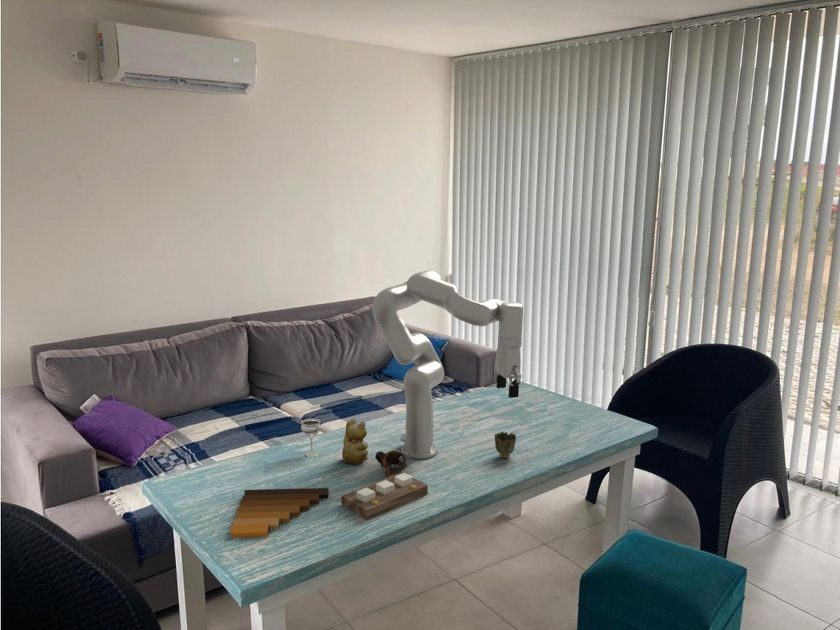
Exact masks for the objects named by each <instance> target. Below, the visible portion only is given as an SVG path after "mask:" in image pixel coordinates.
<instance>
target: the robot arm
mask: <svg viewBox="0 0 840 630" xmlns="http://www.w3.org/2000/svg"><path fill="white" fill-rule="evenodd" d="M421 301H423V302H426V303H429V304H431V305H433V306H434V305H435V306H437V307H438V308H442V309H444V310H445V311H446V312H448V313H449V315H451V316H452V317H453V318H456V320H459V321H461V322H464V323H466V324H469V325H472V326H476V327H486V326H489V325H490V324H493V323H496V322H497V323H498V326H497V327H498V329H497V330H498V331H497V333H498V334H497V349H496V352H495V353H496V354H495V363H494V364H495V365H494V371H495V372H496V385H495V386H496V388H497V389H504V388H505V389H506V387H507V380H508V382H509V385H508V398H510V399H513V398H519V391H520V385H521V379H522V373H521V363H522V361H521V347H522V341H523V322H524V321H523V320H524V306H523V304H521V303H519V302H513V301H503V300H500V299H497V298H487V299H485V300H482V301H480V302H477V301H474V300H471V299H469V298H468V297H467V298H466V297H464V296H463V295H461V294H460V293H459V292H458V287H457V286H456V285H455V284H454V283H450V282H448V281H445V280H442V277H441V276H440V275H439V274H438V273H437V272H435V271H434V270H424V271H420V272H417V273H414V274H412V275H411V276H410V277H409V278H408V279H407V281H405V282H403V283H400V284H397V285H394V286H390V287H386V288H384V289H383V290H381V291H379V292H378V293H377V295H376V296H375V297H374V299H373V302H372V305H371V306H372V307H371V309H372V310H371V311H372V312H371V313H372V316H373V318H374V321H375V322H376V324H377V325H378V328H379V329H380V330H381V333H382V334H383V336H384V339H385V341H386V343H387V345H388V346H389V348H390V351H391V352H392V354H393V357H394V359H395V360H396V361H397V362H398V364H401V365H403V366H404V365H405V366H407V365H408V366H409V365H411V364H413V363H414V364H415V365H414V366H412V367H410V368H409V369H408V370H407V372H406V373H405V375H404V377H403V389H404V393H405V394H404V395H405V433H404V434H403V435H402V436H401V437H400V438H399V441H400V442H403V446H402V447H401V453H403V454H404V455H405V457H406V458H409V459H414V460H425V459H430V458H432V457H435V456H436V455H437V454H438V448H437V447H436V446H435V445H434V400H433V396H432V389H433V388H434V387H437V386H438V385H439V384H440V383H441V382H442V381H443V380H444V378H445V370H444V366H443V364H442V362H441V360H440V358H439V355H438V354H437V352H436V349H435V348H434V346H433V344H432V342H431V340H430V339H429V338H428V337H427V336H426V335H425V334H423V333H421V332H412V333H411V332H410V330H409V328H408V326H407V324H406V323H405V321H404V319H402V318H401V317H400V316H399V315H398V311H401V310H403V309H407V308H410V307H411V306H413V305H416V304H417V303H419V302H421Z"/></svg>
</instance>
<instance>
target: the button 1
mask: <svg viewBox="0 0 840 630" xmlns="http://www.w3.org/2000/svg"><path fill="white" fill-rule="evenodd" d="M356 499H358V500H360V501H362V502H363V503H366V502H369V501H371V500H374V499H375V491H373V490H371V489H369V488H367V487H366V488H364V489H361V490H359V491H356Z"/></svg>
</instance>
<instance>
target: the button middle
mask: <svg viewBox="0 0 840 630" xmlns="http://www.w3.org/2000/svg"><path fill="white" fill-rule="evenodd" d="M376 491H377V492H379V493H381V494H383V495H386V494H388V493H391V492H393V491H395V484H393V483H391V482H389V481H387V480H385V481H382V482H379V483H377V484H376Z"/></svg>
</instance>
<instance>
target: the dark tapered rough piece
mask: <svg viewBox="0 0 840 630" xmlns="http://www.w3.org/2000/svg"><path fill="white" fill-rule="evenodd" d="M516 440H517V436H516V434H515V433H513V432H511V433H508V432H507V431H505V432H503V431H500V432H497V433H495V434H494V445H495V449H496V452H497V453H499V458H501V459H503V460H505V459H510V456H511V454H512V453H513V452H514V450H515V448H516V447H515V446H516V442H517V441H516Z"/></svg>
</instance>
